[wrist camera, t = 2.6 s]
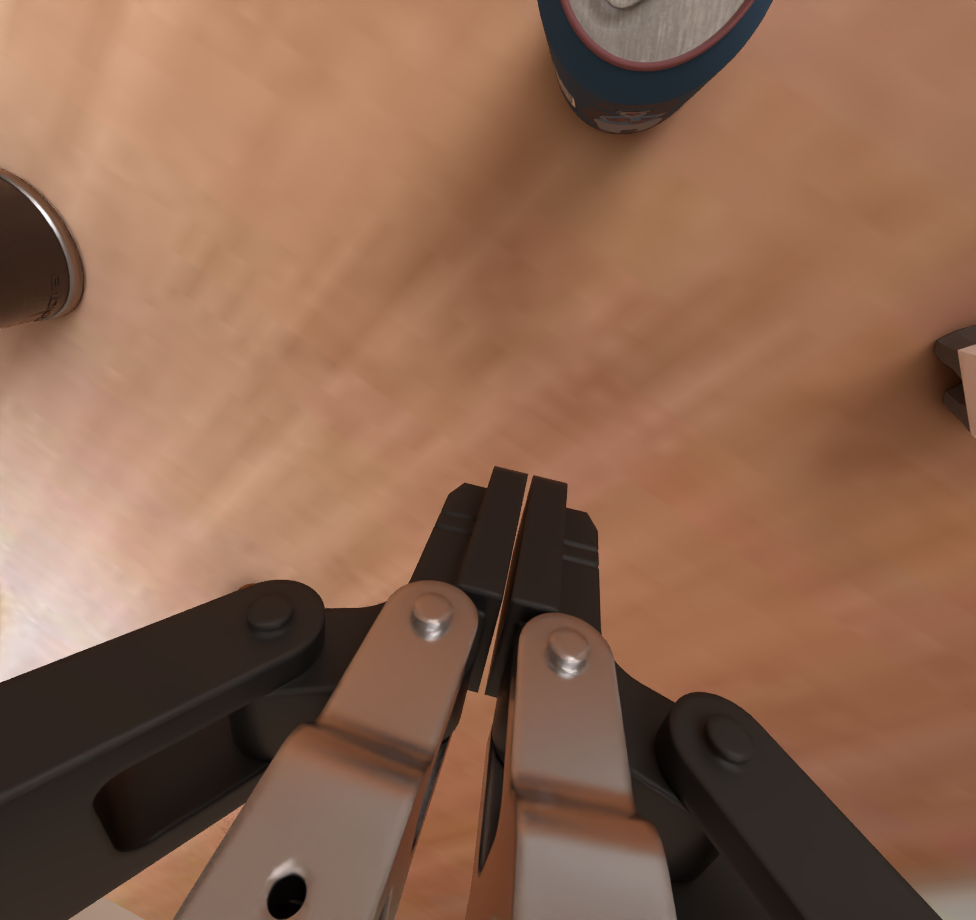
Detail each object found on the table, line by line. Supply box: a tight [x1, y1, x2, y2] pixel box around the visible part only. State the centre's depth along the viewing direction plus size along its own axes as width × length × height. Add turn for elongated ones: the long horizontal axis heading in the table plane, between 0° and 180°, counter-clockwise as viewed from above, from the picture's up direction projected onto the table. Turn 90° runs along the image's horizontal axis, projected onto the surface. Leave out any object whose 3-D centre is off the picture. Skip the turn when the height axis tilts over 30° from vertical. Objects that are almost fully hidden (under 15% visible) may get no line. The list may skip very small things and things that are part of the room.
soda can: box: [538, 0, 773, 134], centre depth 17 cm, size 7×7×12 cm
